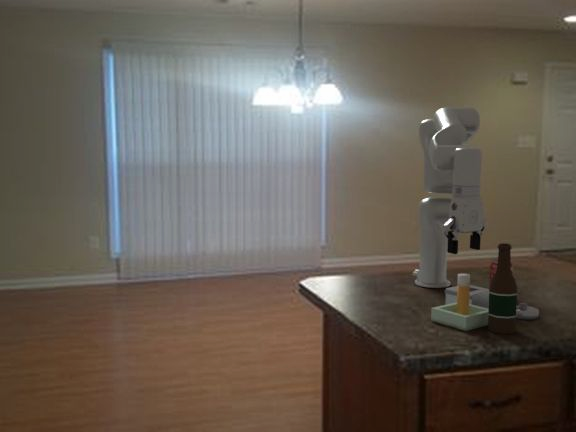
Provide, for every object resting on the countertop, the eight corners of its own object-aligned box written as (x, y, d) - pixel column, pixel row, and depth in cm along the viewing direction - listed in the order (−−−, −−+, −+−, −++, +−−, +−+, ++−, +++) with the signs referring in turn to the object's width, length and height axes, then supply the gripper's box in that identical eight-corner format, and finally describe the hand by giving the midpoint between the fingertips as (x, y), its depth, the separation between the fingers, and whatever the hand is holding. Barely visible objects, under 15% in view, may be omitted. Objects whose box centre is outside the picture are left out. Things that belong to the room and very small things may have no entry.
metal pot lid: (500, 314, 193) (500, 302, 192) (518, 310, 198) (518, 298, 198) (526, 321, 185) (527, 309, 185) (544, 316, 191) (545, 304, 190)
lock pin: (463, 321, 183) (464, 276, 181) (453, 318, 185) (455, 274, 184) (471, 319, 185) (472, 275, 183) (461, 317, 187) (463, 273, 186)
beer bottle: (482, 326, 180) (485, 242, 178) (509, 326, 181) (512, 241, 178) (493, 335, 173) (496, 246, 170) (521, 334, 173) (525, 246, 171)
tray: (431, 320, 186) (431, 307, 186) (459, 313, 194) (459, 301, 193) (465, 330, 176) (466, 317, 176) (493, 323, 184) (494, 310, 183)
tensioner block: (444, 307, 201) (444, 288, 200) (467, 302, 208) (467, 283, 207) (469, 314, 193) (470, 294, 192) (493, 308, 200) (494, 289, 199)
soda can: (513, 303, 205) (515, 263, 204) (490, 302, 207) (491, 263, 205) (510, 298, 212) (512, 259, 211) (487, 297, 214) (489, 259, 212)
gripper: (456, 195, 173) (454, 257, 175) (496, 190, 183) (493, 249, 185) (435, 192, 179) (433, 252, 181) (475, 188, 189) (472, 245, 191)
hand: (463, 251), depth 183 cm, fingers open, 9 cm apart
